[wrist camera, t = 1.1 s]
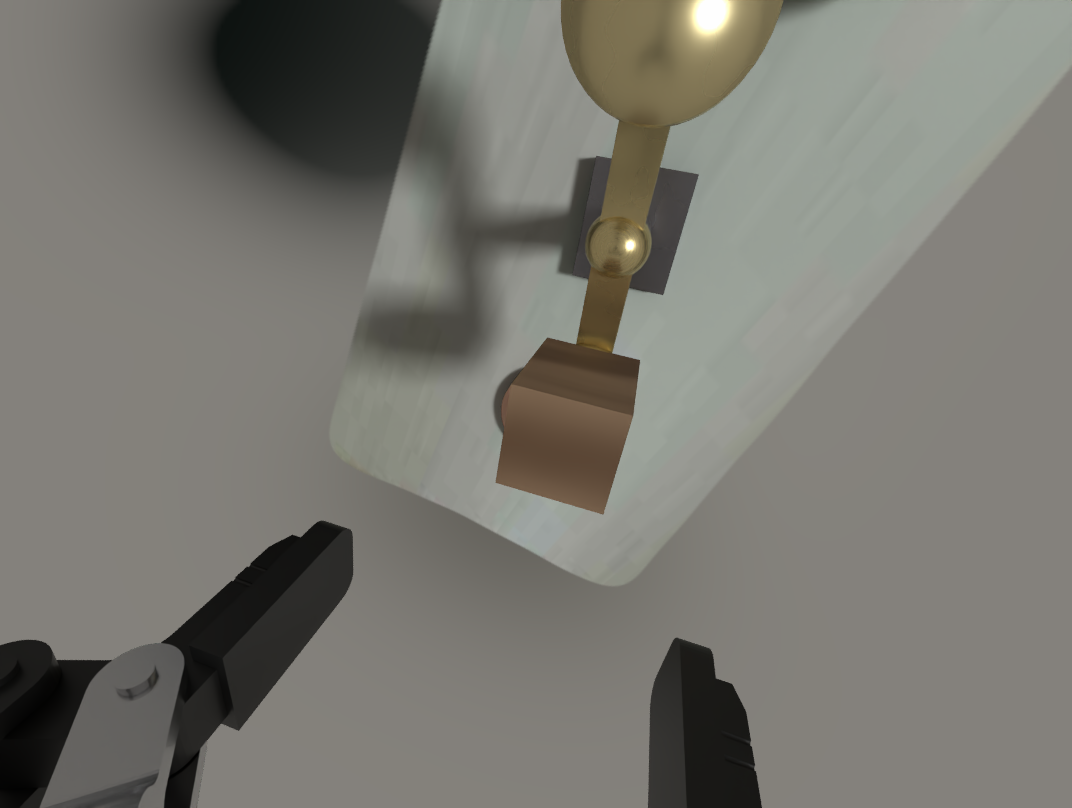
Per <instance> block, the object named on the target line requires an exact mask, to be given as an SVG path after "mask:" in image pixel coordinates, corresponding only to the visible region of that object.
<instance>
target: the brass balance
mask: <svg viewBox="0 0 1072 808" xmlns="http://www.w3.org/2000/svg"><path fill="white" fill-rule="evenodd" d="M782 4H783V0H561V23H562V33H563V39H564V44H565V48H566V52H567V55H568V58H569V61H570V64H571V67H572V69H573V71H574V73H575V75H576V77H577V79H578V81H579V82H580V84H581V85H582V87H583V88H584V90H585V91H586V92H587V94H588V95H589V96H590V97H591V98H592V100H593V101H594V102H595V103H596V104H597V105H598V106H599V107H600V108H601V109H603V110H604V111H605V112H606V113H608V114H609V115H611V116H613V117H614V118H616V119H618V120H619V124H618V129H617V134H616V140H615V145H614V150H613V155H612V159H611V158H605V157H600V156H596V161H595V166H594V171H593V176H592V181H591V185H590V190H589V195H588V200H587V205H586V210H585V215H584V220H583V225H582V230H581V235H580V240H579V245H578V250H577V255H576V260H575V265H574V270H573V275H575V276H580V277H584V278H589V280H588V286H587V291H586V296H585V301H584V306H583V312H582V317H581V322H580V327H579V332H578V338H577V343H576V345H579V346H584V347H588V348H592V349H596V350H600V351H604V352H608V353H612V352H613V348H614V344H615V340H616V336H617V333H618V329H619V325H620V321H621V317H622V313H623V309H624V305H625V301H626V297H627V294H628V290H629V288H634V289H638V290H643V291H647V292H652V293H656V294H661V295H663V294H664V290H665V287H666V283H667V280H668V277H669V273H670V270H671V267H672V263H673V260H674V256H675V253H676V250H677V246H678V243H679V240H680V236H681V233H682V229H683V226H684V223H685V219H686V216H687V213H688V209H689V206H690V203H691V199H692V196H693V192H694V189H695V186H696V182H697V179H698V176H699V175H698V174H693V173H687V172H682V171H676V170H671V169H665V168H660V165H661V161H662V157H663V153H664V150H665V146H666V142H667V138H668V134H669V130H670V126H673V125H678V124H681V123H684V122H686V121H689V120H692V119H694V118H696V117H698V116H700V115H702V114H704V113H705V112H707V111H708V110H710V109H711V108H713V107H715V106H716V105H717V104H719V103H720V102H721V101H722V100H723V99H725V98H726V97H727V96H728V95H729V94H730V93H731V92H732V91H733V90H734V89H735V88H736V87H737V86H738V85H739V84H740V83H741V81H742V80H743V79H744V77H745V76H746V75H747V74H748V72H749V71H750V70H751V68H752V67H753V66H754V64H755V63H756V61H757V60H758V58H759V56H760V55H761V53H762V52H763V50H764V49H765V47H766V45H767V43H768V41H769V39H770V37H771V35H772V33H773V30H774V28H775V25H776V22H777V20H778V17H779V14H780V11H781V8H782Z"/></svg>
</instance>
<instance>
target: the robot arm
mask: <svg viewBox="0 0 1072 808" xmlns="http://www.w3.org/2000/svg"><path fill="white" fill-rule="evenodd" d="M352 577H353V536H352V531H351V530H350V529H347V528H344V527H341V526H338V525H335V524H332V523H329V522H326V521H319V522H317V523H316V524H314V525H313V526H312V527H311V528H310V529H309V530H308V531H307V532H306V533H305V534H304V535H303V536H302V537H297V536H294V535H291V536H289V537H287V538H286V539H284V540H281V541H279V542H277V543H275V544H273V545H272V546H270V547H268V548H267V549H266V550H265V551H264V552H263V553H262V554H261V555H259V556H258V557H257V558H256V559H255V560H254V561H253V562H252V563H251V565H250V566H249V567H246V568H245V569H244V570H243V571H242V572H241V573H240V574H238V575H237V576H236V578H235V580H234V581H231V582H230V583H229V584H227V585H226V586H225V587H224V588H223V589H222V590H221V591H220V592H219V593H217V595H215V596H214V597H213V598H212V599H211V600H210V601H209V602H207V603H206V604H205V606H203V607H202V608H201V609H200V610H199V611H198V612H196V613H195V614H194V615H193V616H192V617H191V618H190V619H189V620H188V621H186V622H185V623H184V624H183V625H182V626H181V627H180V628H179V629H178V630H177V631H175V633H173V634H172V635H171V636H170V637H168V638H167V639H166V640H164V641H163V642H161V643H155V644H148V645H144V646H140V647H137V648H134V649H132V650H130V651H128V652H125V653H123V654H122V655H120V656H118V657H117V658H115V659H114V660H105V661H104V660H102V661H101V660H56V658H55V656H54V654H53V652H52V650H51V648H50V646H49V645H47V644H46V643H44V642H42V641H37V640H21V641H16V642H11V643H7V644H4V645H0V808H197V804H198V798H199V792H200V786H201V780H202V774H203V767H204V762H205V755H206V750H207V740H208V739H209V737H210V736H211V735H212V734H213V733H214V731H215V730H216V729H217V727H218V726H219V725H220V724H224V725H227V726H229V727H231V728H234V729H236V730H238V731H239V730H240V728H241V727H242V726H243V724H244V723H245V722H246V721H247V720H248V718H249V717H250V716H251V714H252V713H253V712H254V711H255V709H256V708H257V707H258V705H259V704H260V703H261V702H262V700H263V699H264V698H265V696H266V695H267V694H268V693H269V691H270V690H271V689H272V688H273V686H274V685H275V684H276V683H277V681H278V680H279V679H280V677H281V676H282V675H283V674H284V672H285V671H286V670H287V669H288V667H289V666H290V665H291V663H292V662H293V661H294V659H295V658H296V657H297V656H298V654H299V653H300V652H301V651H302V649H303V648H304V647H305V646H306V644H307V643H308V642H309V640H310V639H311V638H312V637H313V635H314V634H315V633H316V632H317V630H318V629H319V628H320V626H321V625H322V624H323V623H324V621H325V620H326V619H327V617H328V616H329V615H330V614H331V612H332V611H333V610H334V609H335V607H336V606H337V605H338V603H339V602H340V601H341V600H342V598H343V597H344V595H345V594H346V592H347V590H348V588H349V586H350V583H351V580H352ZM750 742H751V738H750V733H749V726H748V720H747V714H746V711H745V709H744V707H743V705H742V703H741V701H740V699H739V697H738V695H737V693H736V691H735V689H734V687H733V685H732V684H730V683H728V682H725V681H722V680H719V679H716V677H715V668H714V659H713V654H712V651H711V650H710V649H709V648H706V647H704V646H701V645H698V644H695V643H691V642H688V641H685V640H682V639H679V638H675V639H674V640H673V642H672V644H671V646H670V649H669V651H668V653H667V655H666V657H665V659H664V661H663V663H662V666H661V668H660V670H659V672H658V674H657V677H656V679H655V682H654V686H653V690H652V695H651V704H650V745H649V792H648V794H649V795H648V808H762V806H761V799H760V793H759V788H758V781H757V775H756V771H754V766H755V763H754V757H753V751H752V747H751V746H750Z"/></svg>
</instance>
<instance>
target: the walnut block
mask: <svg viewBox="0 0 1072 808" xmlns="http://www.w3.org/2000/svg"><path fill="white" fill-rule="evenodd" d="M639 365H640V360H637V359H633V358H629V357H625V356H620V355H616V354H612V353H608V352H604V351H600V350H596V349H592V348H588V347H584V346H579V345H575V344H571V343H567V342H563V341H559V340H555V339H551V338H547V339H546V340H545V341H544V342H543V344H542V345H541V346H540V348H539V349H538V350H537V351H536V353H535V354H534V355H533V357H532V358H531V359H530V360H529V362H528V363H527V364H526V366H525V367H524V368H523V369H522V371H521V372H520V373H519V375H518V376H517V377H516V378H515V380H514V381H513V382H512V384H511V389H510V395H509V401H508V408H507V414H506V420H505V426H504V433H503V439H502V445H501V452H500V458H499V464H498V471H497V477H496V483H499V484H502V485H505V486H509V487H512V488H515V489H519V490H522V491H526V492H529V493H532V494H536V495H539V496H542V497H546V498H549V499H553V500H556V501H559V502H563V503H566V504H570V505H573V506H576V507H580V508H583V509H586V510H590V511H593V512H597V513H600V514H604V510H605V507H606V504H607V500H608V497H609V494H610V490H611V487H612V484H613V481H614V477H615V474H616V471H617V467H618V464H619V461H620V457H621V454H622V451H623V448H624V444H625V441H626V438H627V434H628V431H629V428H630V424H631V421H632V418H633V413H634V405H635V397H636V389H637V381H638V373H639Z"/></svg>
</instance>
